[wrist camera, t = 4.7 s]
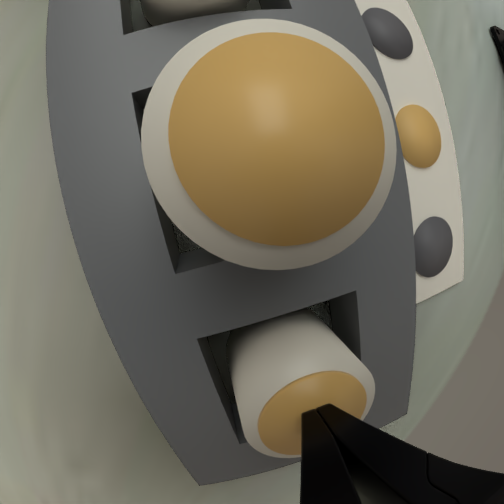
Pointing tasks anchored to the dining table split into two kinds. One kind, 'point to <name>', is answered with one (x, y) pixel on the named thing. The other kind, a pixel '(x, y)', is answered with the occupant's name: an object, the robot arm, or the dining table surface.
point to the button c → (292, 378)
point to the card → (421, 143)
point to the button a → (187, 9)
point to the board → (200, 260)
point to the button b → (268, 144)
